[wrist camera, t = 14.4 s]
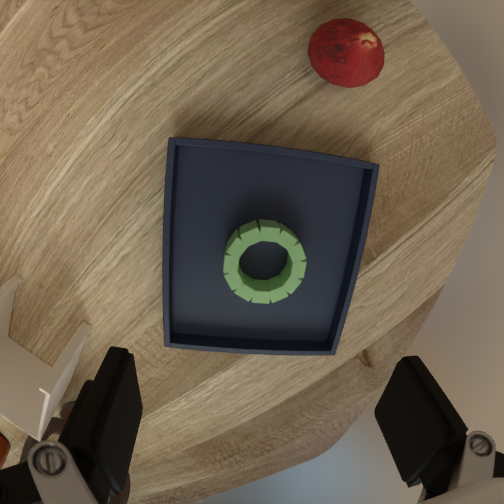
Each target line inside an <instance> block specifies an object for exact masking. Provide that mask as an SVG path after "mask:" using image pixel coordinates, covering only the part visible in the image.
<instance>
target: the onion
mask: <svg viewBox="0 0 504 504" xmlns="http://www.w3.org/2000/svg"><path fill="white" fill-rule="evenodd" d="M307 53H308V56H309V59H310V63H311V66H312V67H313V68H314V70H315V71H316V72H317V73H318V74H319V76H320V77H321V78H323V79H324V80H326V81H328V82H330V83H332V84H334V85H338V86H343V87H347V88H353V87H359V86H364V85H366V84H367V83H369V82H370V81H372V80H374V79H375V78H377V77H378V75H379V73H380V72H381V70H382V68H383V65H384V49H383V46H382V43H381V40H380V39H379V37H378V36H377V35H376V34H375V32H374V31H373V30H372V29H370V28H369V27H368V26H367V25H365V24H364V23H362V22H359V21H356V20H353V19H349V18H343V19H333V20H331V21H329V22H326V23H324V24H322V25H320V26H319V27H318V28H317V30H316V31H315V32H314V33H313V35H312V36H311V39H310V43H309V48H308V52H307Z"/></svg>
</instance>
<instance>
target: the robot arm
mask: <svg viewBox="0 0 504 504" xmlns="http://www.w3.org/2000/svg"><path fill="white" fill-rule="evenodd" d="M142 410H143V407H142V401H141V396H140V391H139V385H138V380H137V374H136V368H135V361H134V356H133V354H131V353H129V352H128V349H126V348H120V347H113V346H111V347H110V348H109V350H108V352H107V354H106V356H105V358H104V360H103V362H102V364H101V366H100V368H99V370H98V372H97V374H96V377H95V379H94V381H92V380H87V381H86V382H85V383H84V385H83V387H82V389H81V391H80V393H79V395H78V397H77V399H76V401H75V404H74V406H73V408H72V410H71V412H70V414H69V417H68V419H67V421H66V423H65V426H64V428H63V430H62V432H61V435H60V437H59V439H58V442H57V441H53V440H44V441H41V442H38V443H36V444H35V445H34V446H33V447H32V448H31V449H30V451H29V453H28V458H27V460H28V461H26V462H23V463H20V464H17V465H14V466H11V467H8V468H5V469H2V470H0V504H106V503H107V502H108V498H109V496H111V497H115V498H117V497H118V492H119V491H121V492H123V491H124V488H125V484H126V479H127V475H128V470H129V466H130V462H131V457H132V453H133V449H134V445H135V440H136V436H137V432H138V428H139V424H140V420H141V416H142ZM375 417H376V420H377V422H378V424H379V427H380V429H381V431H382V433H383V436H384V438H385V440H386V443H387V445H388V447H389V449H390V452H391V454H392V457H393V459H394V461H395V464H396V466H397V468H398V471H399V473H400V476H401V478H402V480H403V481H404V482H406V483H407V486H408V487H412V486H415V485H419V484H420V483H421V482H422V484H423V489H422V492H421V495H420V497H419V500H418V502H417V504H504V454H502V453H500V452H497V451H496V448H495V443H494V440H493V439H492V438H491V437H490V436H489V435H488V434H486V433H485V432H482V431H473V432H471V433H470V434H469V435H468V436H467V435H466V431H468V428H467V427H466V425H465V423H464V422H463V420H462V419H461V417H460V416H459V414H458V413H457V411H456V410H455V408H454V407H453V405H452V404H451V402H450V401H449V399H448V398H447V396H446V395H445V393H444V392H443V390H442V389H441V387H440V386H439V385H438V383H437V382H436V380H435V379H434V377H433V376H432V374H431V373H430V372H429V370H428V369H427V367H426V366H425V365H424V363H423V362H422V361H421V359H420V358H419V357H418V356H406V357H403V358H402V359H401V360H400V361H399V362H398V363H397V365H396V367H395V369H394V371H393V373H392V376H391V378H390V380H389V382H388V384H387V386H386V388H385V390H384V392H383V394H382V396H381V398H380V400H379V402H378V404H377V406H376V408H375Z"/></svg>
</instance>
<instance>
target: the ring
mask: <svg viewBox="0 0 504 504" xmlns="http://www.w3.org/2000/svg"><path fill="white" fill-rule="evenodd" d="M239 230H240V231H239ZM239 230H238V229H236V230H235V232H234V233H233V234H232V236H231V237H230V238H229V240H228V241H227V243H226V246H225V253H224V266H223V272H224V277H225V279H226V281H227V283H228V284H229V286H230V288H231V290H234V293H235V294H237V295H238V296H240V297H242V298H243V299H245V300H247V301H248V302H249V301H250V299H251V302H252V303H264V304H269V302H270V300H271V302H272V303H274V302H276V301H279V300H281V299H283V298H286V297H288V293H290V294H292V293H293V292H294V290H295V289H296V288H297V287H298V286H299V285H300V283H301V282H302V280H301V278H304V274H305V269H306V263H307V262H306V260H305V259H306V256H305V253H304V250H303V248H302V245H301V243H300V241H299V240H298V238H297V237H296V235H294V233H293V232H292V231H291V230H290V229H288V228H287V227H286V226H284V225H283V224H281V223H280V222H279V223H277V221H273V220H263V219H259V220H258V224H257V221H256V220H254V221H251V222H249V223H247V224H245V225H242V226H240V227H239ZM260 241H268V242H277V243H278V244H280V245H281V246H282V247H284V248H285V249H287V252H288V257H287V263H286V266H285V267H284V269H283V270H282V271H281V272H280V273H279V275H277V276H275V277H272V278H270V279H268V280H259V279H252V278H251V277H249V276H248V275H246V274H245V273H243V272H242V270H241V268H240V266H239V258H240V256H241V255H242V254H243V253H244V251H245V250H246V249H247V247H248V246H251V245H253V244H255V243H258V242H260ZM287 292H288V293H287Z"/></svg>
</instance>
